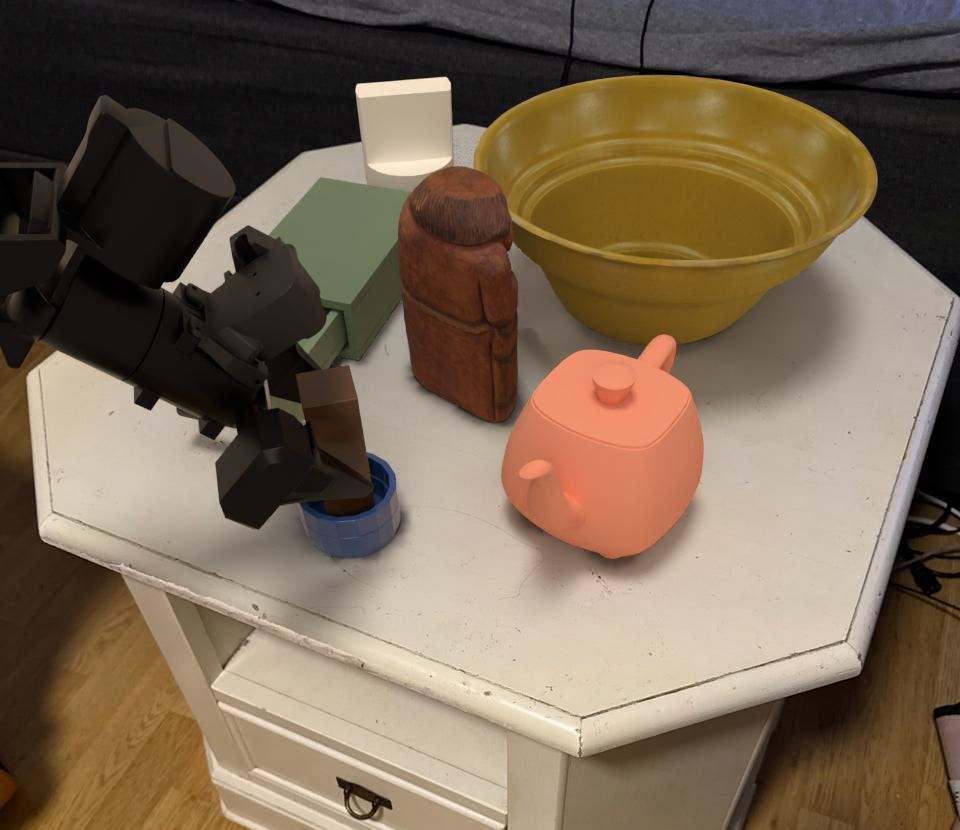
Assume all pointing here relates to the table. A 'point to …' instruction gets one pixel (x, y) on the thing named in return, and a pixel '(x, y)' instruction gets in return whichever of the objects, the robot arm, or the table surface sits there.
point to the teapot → (607, 450)
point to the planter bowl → (672, 197)
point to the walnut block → (337, 428)
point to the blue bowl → (357, 518)
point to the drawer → (319, 349)
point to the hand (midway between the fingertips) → (358, 447)
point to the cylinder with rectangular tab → (405, 130)
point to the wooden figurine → (461, 290)
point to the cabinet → (350, 252)
